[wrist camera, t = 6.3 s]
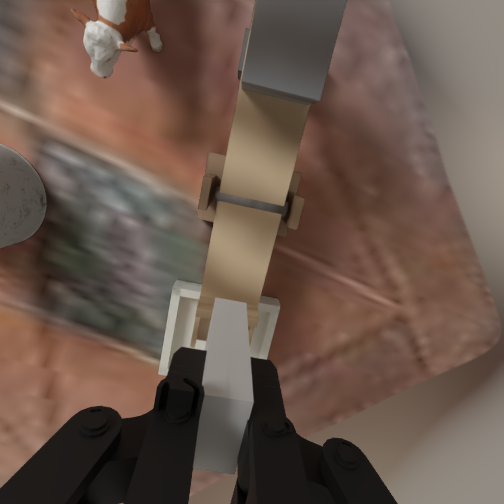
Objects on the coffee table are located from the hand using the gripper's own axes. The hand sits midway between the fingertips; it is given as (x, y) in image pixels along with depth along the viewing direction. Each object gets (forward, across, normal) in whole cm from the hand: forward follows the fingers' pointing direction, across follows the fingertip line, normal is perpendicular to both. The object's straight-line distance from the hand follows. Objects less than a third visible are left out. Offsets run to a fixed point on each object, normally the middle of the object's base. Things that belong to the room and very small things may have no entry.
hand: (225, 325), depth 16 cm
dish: (+17, +1, -10) cm, 20 cm away
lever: (+11, +1, +5) cm, 12 cm away
